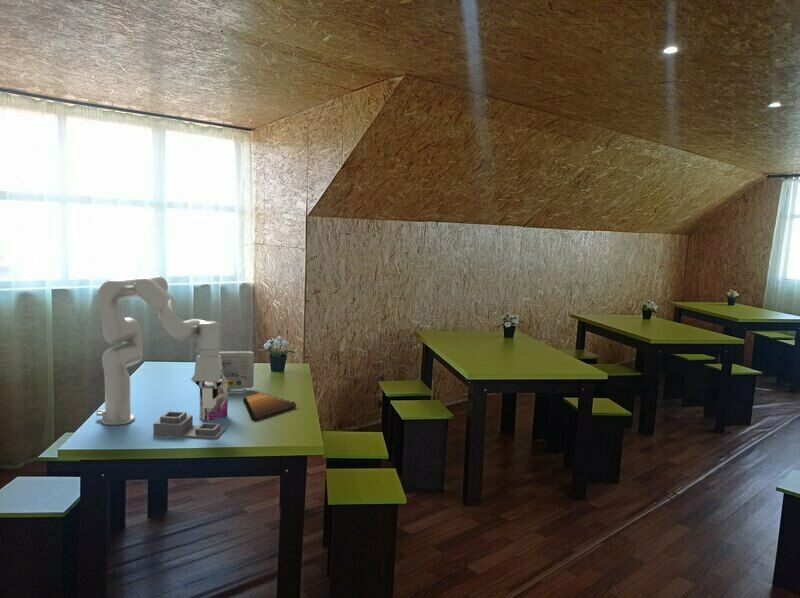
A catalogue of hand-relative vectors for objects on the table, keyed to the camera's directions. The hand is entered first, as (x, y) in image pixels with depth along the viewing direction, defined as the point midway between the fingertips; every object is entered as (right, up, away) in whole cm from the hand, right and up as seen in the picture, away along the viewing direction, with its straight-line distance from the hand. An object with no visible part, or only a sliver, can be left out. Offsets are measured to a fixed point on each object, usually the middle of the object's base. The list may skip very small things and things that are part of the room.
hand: (208, 397), depth 234 cm
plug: (0, -4, +1) cm, 4 cm away
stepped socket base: (-8, -15, +2) cm, 17 cm away
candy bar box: (-5, -13, +21) cm, 25 cm away
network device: (-11, -8, +62) cm, 63 cm away
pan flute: (+11, -12, +36) cm, 40 cm away
